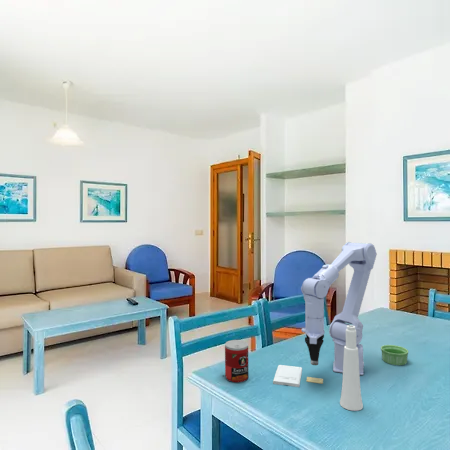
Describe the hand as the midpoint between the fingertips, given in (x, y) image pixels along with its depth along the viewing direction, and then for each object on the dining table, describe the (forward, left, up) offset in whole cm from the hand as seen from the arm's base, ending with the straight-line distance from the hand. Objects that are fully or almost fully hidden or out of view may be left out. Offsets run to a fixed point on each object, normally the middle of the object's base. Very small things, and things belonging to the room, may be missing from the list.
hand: (314, 358), depth 110 cm
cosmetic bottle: (-11, +12, -7) cm, 17 cm away
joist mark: (0, 0, -7) cm, 7 cm away
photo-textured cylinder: (0, 0, -2) cm, 2 cm away
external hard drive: (+8, 0, -8) cm, 12 cm away
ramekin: (-27, -24, -7) cm, 36 cm away
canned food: (+24, +5, -7) cm, 26 cm away
